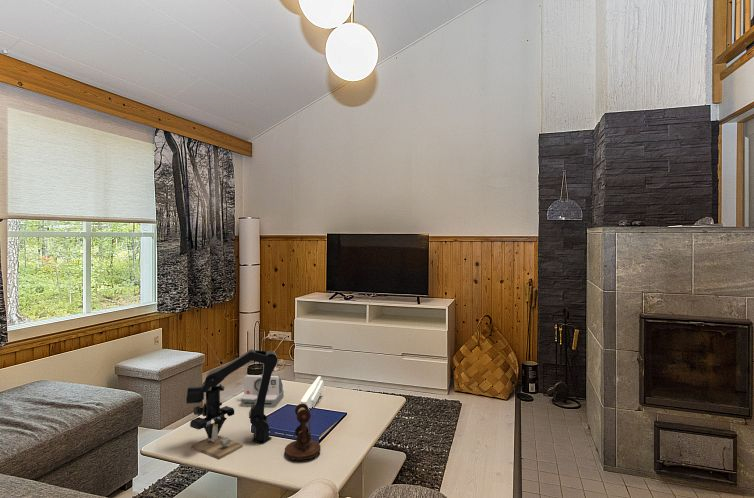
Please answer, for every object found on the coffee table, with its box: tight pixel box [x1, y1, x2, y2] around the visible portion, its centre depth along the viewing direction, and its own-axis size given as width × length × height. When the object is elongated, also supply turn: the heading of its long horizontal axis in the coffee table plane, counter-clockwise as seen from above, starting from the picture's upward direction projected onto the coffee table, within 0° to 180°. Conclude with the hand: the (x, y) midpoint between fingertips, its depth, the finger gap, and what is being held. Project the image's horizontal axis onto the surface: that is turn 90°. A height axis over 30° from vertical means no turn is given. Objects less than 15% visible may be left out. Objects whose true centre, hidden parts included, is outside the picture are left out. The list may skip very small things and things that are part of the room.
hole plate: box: [190, 435, 244, 460], centre depth 182 cm, size 18×12×5 cm, turn 59°
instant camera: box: [240, 374, 285, 409], centre depth 236 cm, size 21×21×15 cm
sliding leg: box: [207, 422, 219, 443], centre depth 184 cm, size 3×3×8 cm
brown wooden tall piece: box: [284, 403, 321, 462], centre depth 177 cm, size 15×15×20 cm
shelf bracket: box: [300, 375, 325, 410], centre depth 231 cm, size 6×25×13 cm, turn 168°
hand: (213, 436), depth 184 cm, fingers closed on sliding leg, 3 cm apart
